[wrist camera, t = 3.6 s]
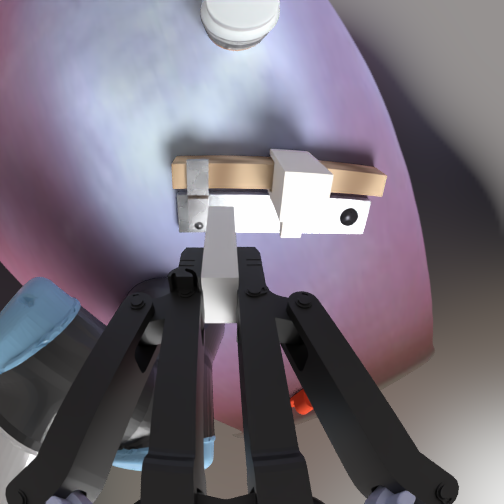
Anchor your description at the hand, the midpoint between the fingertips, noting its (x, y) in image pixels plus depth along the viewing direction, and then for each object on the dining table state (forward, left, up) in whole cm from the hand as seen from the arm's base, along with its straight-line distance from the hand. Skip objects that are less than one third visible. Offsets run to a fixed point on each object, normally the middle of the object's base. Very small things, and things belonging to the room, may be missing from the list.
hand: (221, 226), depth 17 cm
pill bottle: (+1, +15, -13) cm, 20 cm away
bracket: (+18, -50, -14) cm, 55 cm away
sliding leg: (+7, -2, -13) cm, 15 cm away
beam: (+6, 0, -13) cm, 15 cm away
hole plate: (+6, -5, -13) cm, 16 cm away
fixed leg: (-2, -2, -12) cm, 12 cm away
